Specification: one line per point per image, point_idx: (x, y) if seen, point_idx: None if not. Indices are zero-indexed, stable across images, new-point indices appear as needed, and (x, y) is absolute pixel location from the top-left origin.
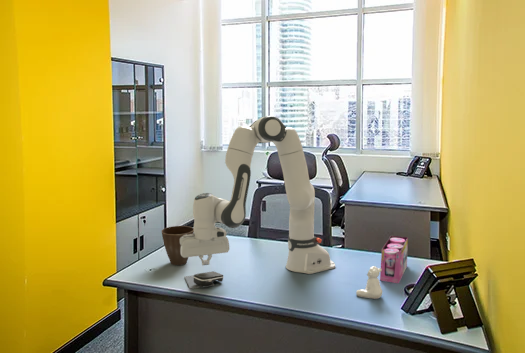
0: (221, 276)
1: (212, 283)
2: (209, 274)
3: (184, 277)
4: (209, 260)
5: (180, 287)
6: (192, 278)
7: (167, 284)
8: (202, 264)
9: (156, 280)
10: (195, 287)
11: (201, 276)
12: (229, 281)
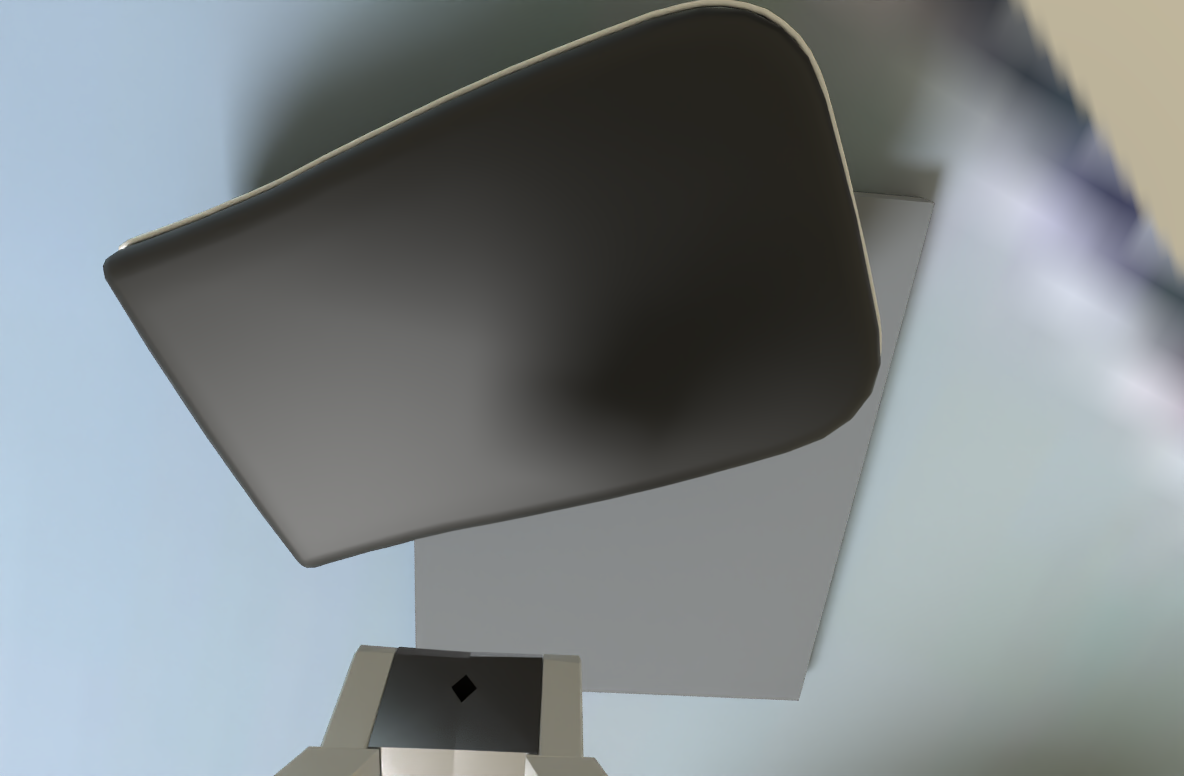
0: (163, 233)
1: None
2: (455, 353)
3: (794, 686)
4: (312, 753)
5: (1023, 361)
6: (713, 589)
7: (1128, 561)
8: (578, 688)
9: (1170, 739)
10: None
11: (743, 201)
12: (59, 227)
